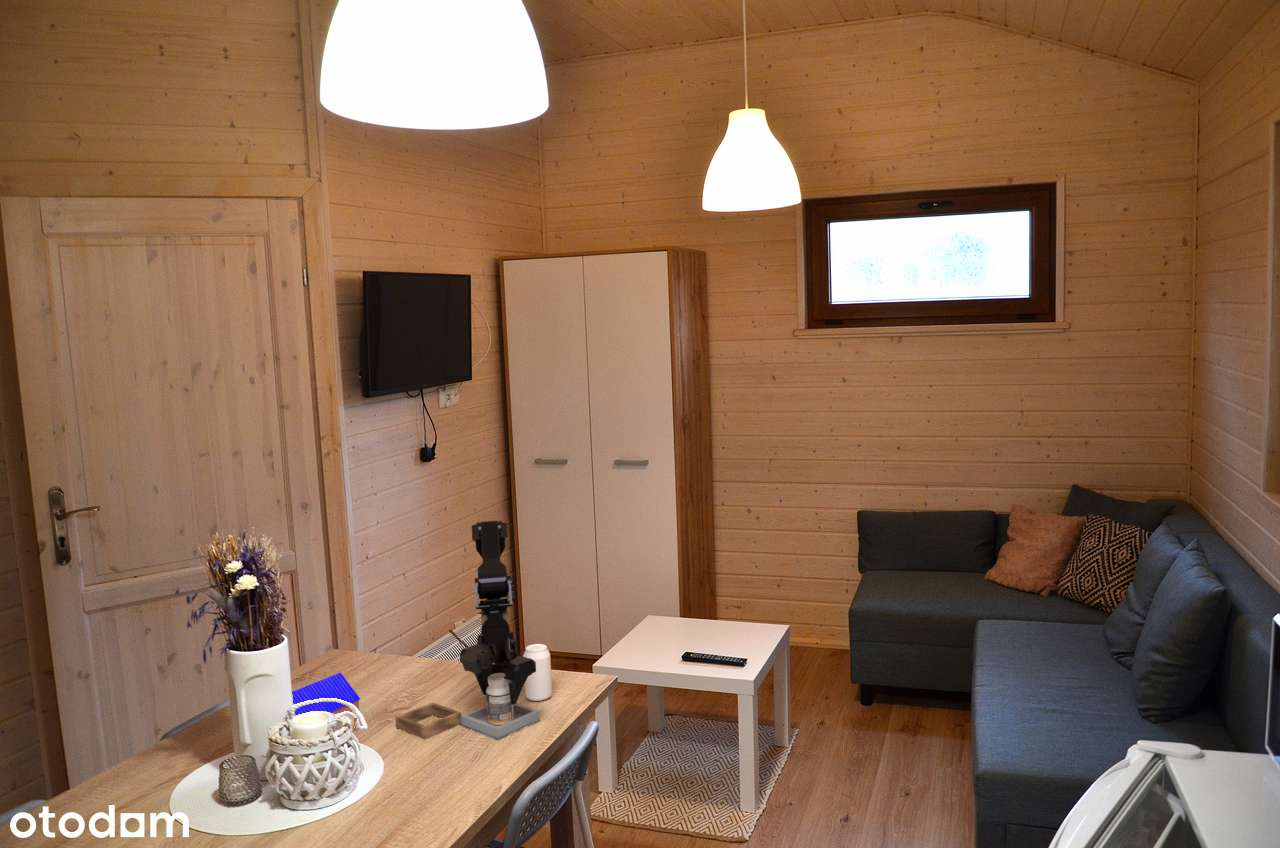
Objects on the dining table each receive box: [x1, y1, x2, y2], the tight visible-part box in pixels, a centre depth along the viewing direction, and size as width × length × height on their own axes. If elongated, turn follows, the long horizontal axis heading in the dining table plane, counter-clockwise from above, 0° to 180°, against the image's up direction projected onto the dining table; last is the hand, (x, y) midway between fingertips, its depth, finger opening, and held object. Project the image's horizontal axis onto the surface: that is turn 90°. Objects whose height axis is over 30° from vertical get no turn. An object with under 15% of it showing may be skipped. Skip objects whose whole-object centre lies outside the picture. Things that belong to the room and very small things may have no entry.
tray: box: [460, 702, 541, 741], centre depth 214 cm, size 12×12×2 cm
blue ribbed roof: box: [291, 672, 361, 732], centre depth 210 cm, size 12×20×12 cm, turn 147°
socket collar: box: [394, 702, 463, 741], centre depth 215 cm, size 10×10×2 cm
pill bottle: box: [485, 673, 514, 725], centre depth 214 cm, size 6×6×10 cm
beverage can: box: [522, 643, 553, 702], centre depth 228 cm, size 6×6×12 cm
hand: (499, 699), depth 214 cm, fingers open, 9 cm apart
